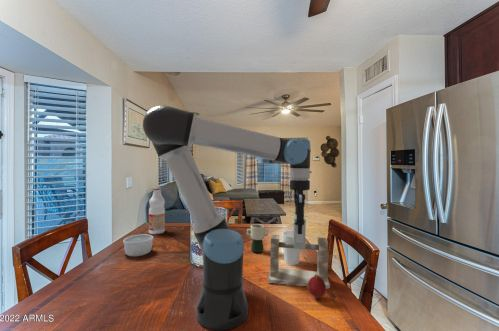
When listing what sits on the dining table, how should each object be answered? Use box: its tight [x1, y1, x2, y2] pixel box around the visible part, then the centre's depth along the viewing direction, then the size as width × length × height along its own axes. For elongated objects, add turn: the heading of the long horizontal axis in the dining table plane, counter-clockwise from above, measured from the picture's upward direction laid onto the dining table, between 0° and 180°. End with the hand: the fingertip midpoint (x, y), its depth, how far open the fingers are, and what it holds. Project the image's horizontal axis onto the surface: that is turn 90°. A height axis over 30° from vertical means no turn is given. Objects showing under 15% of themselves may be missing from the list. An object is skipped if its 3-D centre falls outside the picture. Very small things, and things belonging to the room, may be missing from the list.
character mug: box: [246, 223, 269, 253], centre depth 120 cm, size 11×7×13 cm, turn 85°
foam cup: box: [281, 230, 302, 266], centre depth 108 cm, size 10×9×13 cm
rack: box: [267, 234, 331, 289], centre depth 92 cm, size 22×10×16 cm, turn 81°
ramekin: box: [122, 233, 154, 257], centre depth 117 cm, size 13×13×7 cm
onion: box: [307, 274, 327, 299], centre depth 79 cm, size 6×6×8 cm
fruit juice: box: [148, 186, 166, 235], centre depth 149 cm, size 9×9×28 cm
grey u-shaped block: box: [293, 214, 307, 250], centre depth 92 cm, size 4×8×11 cm, turn 171°
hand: (298, 238), depth 92 cm, fingers closed on grey u-shaped block, 8 cm apart
